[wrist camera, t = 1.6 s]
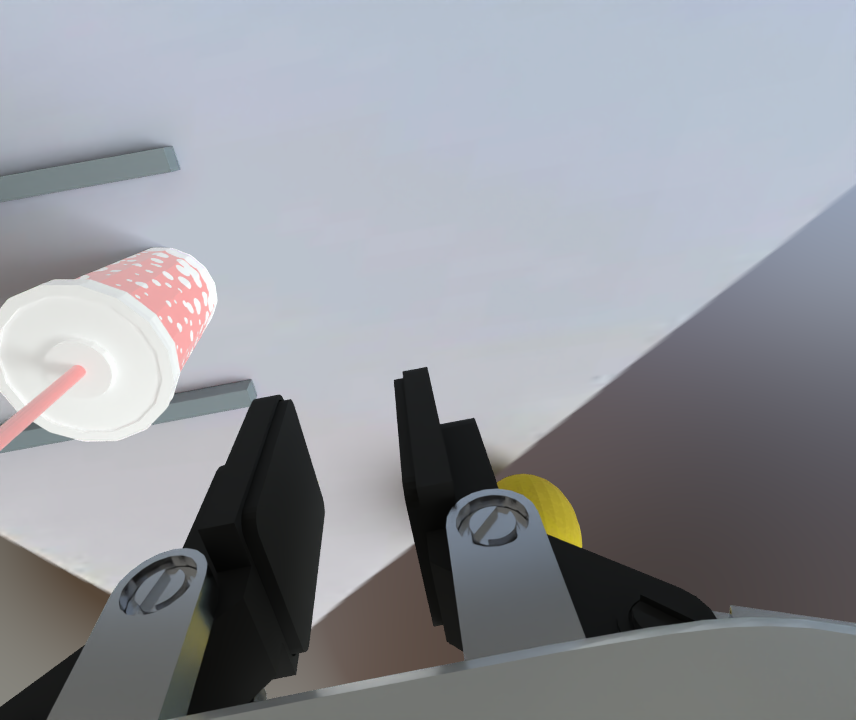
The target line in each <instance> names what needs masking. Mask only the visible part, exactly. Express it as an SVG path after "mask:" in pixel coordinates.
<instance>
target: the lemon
mask: <svg viewBox="0 0 856 720" xmlns="http://www.w3.org/2000/svg"><path fill="white" fill-rule="evenodd" d="M497 485H498V488H499V489H504V490H511V491H514V492H516V493H519V494H521V495H523V496H525V497H526V498H527V499H529V500H530V501H531V502H532V503H533V504H534V506H535V507H536V509H537V510H538V512H539V515H540V518H541V520H542V523H543V526H544V528H545V531H546V534H548V535H551V536H553V537H556V538H558V539H561V540H563V541H565V542H568V543H570V544H573V545H575V546H578V547H580V548H582V538H581V531H580V527H579V524H578V521H577V518H576V515H575V512H574V510H573V508H572V506H571V504H570V503H569V502H568V500H567V499H566V498H565V496H564V495H563V494H562V492H561V491H560V490H559V489H558V488H557V487H556V486H554V485H553V484H551V483H550V482H549V481H547V480H545V479H543V478H540V477H538V476H535V475H530V474H529V475H528V474H516V475H512V476H508V477H505V478H504V479H502V480H500V481H498V482H497Z"/></svg>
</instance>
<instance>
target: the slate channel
mask: <svg viewBox="0 0 856 720" xmlns="http://www.w3.org/2000/svg"><path fill="white" fill-rule="evenodd" d="M176 170H180V167H179V164H178V161H177V158H176V155H175V152H174V149H173V146H171V147H164V148H158V149H153V150H147V151H141V152H136V153H130V154H124V155H119V156H113V157H108V158H102V159H96V160H91V161H85V162H79V163H74V164H68V165H62V166H57V167H51V168H46V169H40V170H34V171H29V172H23V173H17V174H12V175H6V176H0V202H5V201H11V200H16V199H22V198H27V197H33V196H39V195H44V194H50V193H55V192H61V191H67V190H72V189H78V188H84V187H89V186H95V185H100V184H106V183H112V182H117V181H123V180H128V179H134V178H140V177H145V176H151V175H156V174H162V173H168V172H173V171H176ZM256 397H257V394H256V391H255V388H254V385H253V382H252V380H247V381H241V382H236V383H231V384H225V385H220V386H214V387H209V388H204V389H198V390H193V391H188V392H182V393H177V394H174V396H173V399H172V400H171V401H170V403H169V406H168V407H167V409H166V410H165V411H164V412H163V413H162V414H161V415H160V416H159V417H158V418H157V419H156V420H155V421H154V422H153V423H152V424H151V425H154V424H159V423H165V422H170V421H175V420H181V419H186V418H191V417H197V416H202V415H207V414H213V413H218V412H223V411H229V410H234V409H239V408H245V407H250V405H251V402H252V401H253V399H256ZM69 440H74V439H73V438H69V437H65V436H62V435H58V434H55V433H51V432H49V431H47V430H45V429H44V428H42V427H40V426H39V425H37V424H36V423H34V422H32V423H31V424H30V425H29V426H28V427H26V428H25V429H24V430H23V431H22V432H21V433H20V434H19V435H18V436H16V437H15V438H14V439H13V440H12V441H11V442H10V443H9V444H7V445H6V446H5V447H4V448H3V449H2V450H1V451H0V453H5V452H10V451H15V450H21V449H26V448H31V447H37V446H42V445H47V444H53V443H58V442H63V441H69Z"/></svg>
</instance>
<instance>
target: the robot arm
mask: <svg viewBox="0 0 856 720" xmlns="http://www.w3.org/2000/svg"><path fill="white" fill-rule="evenodd" d="M394 387H395V399H396V411H397V423H398V436H399V448H400V460H401V472H402V482H403V490H404V496H405V501H406V506H407V511H408V515H409V520H410V524H411V529H412V533H413V538H414V542H415V546H416V550H417V555H418V559H419V564H420V569H421V573H422V577H423V582H424V586H425V591H426V595H427V600H428V603H429V608H430V613H431V617H432V621H433V626H439V625H443V626H444V631H445V635H446V640H447V642H449V643H450V644H452V645H454V646H455V647H457V648H458V649H460V650H461V651H463V652H464V659H465V661H462V662H457V663H452V664H447V665H442V666H436V667H431V668H426V669H421V670H416V671H410V672H406V673H400V674H395V675H390V676H385V677H380V678H374V679H369V680H365V681H359V682H354V683H349V684H344V685H339V686H334V687H329V688H323V689H318V690H313V691H308V692H303V693H298V694H293V695H288V696H283V697H278V698H273V699H268V700H267V697H266V696H267V695H266V691H265V688H264V687H265V686H266V685H267V684H268V683H269V682H270V681H271V680H272V679H277V678H282V677H287V676H292V675H296V671H297V664H298V657H299V653H302V652H306V651H307V650H308V647H309V641H310V632H311V624H312V616H313V608H314V599H315V591H316V583H317V574H318V566H319V558H320V549H321V541H322V533H323V524H324V516H325V509H324V502H323V497H322V494H321V491H320V488H319V484H318V481H317V478H316V475H315V471H314V468H313V465H312V462H311V458H310V455H309V452H308V449H307V445H306V442H305V439H304V436H303V432H302V429H301V426H300V423H299V419H298V416H297V413H296V410H295V407H294V404H293V402H292V400H291V399H290V400H284V399H283V398H282V396H281V395H275V396H270V397H264V398H259V399H253V401H252V402H251V405H250V407H249V410H248V412H247V414H246V417H245V419H244V421H243V424H242V426H241V428H240V431H239V433H238V435H237V438H236V440H235V443H234V445H233V447H232V450H231V452H230V454H229V457H228V459H227V461H226V464H225V465H223V466H221V467H219V468H218V470H217V471H216V474H215V476H214V478H213V480H212V483H211V485H210V487H209V490H208V492H207V494H206V496H205V499H204V501H203V503H202V505H201V508H200V510H199V512H198V514H197V517H196V519H195V521H194V524H193V526H192V528H191V530H190V533H189V535H188V537H187V539H186V542H185V544H184V546H183V548H182V549H173V550H170V551H167V552H164V553H160V554H158V555H156V556H154V557H152V558H150V559H148V560H146V561H144V562H143V563H141V564H140V565H138V566H137V567H136V568H134V569H133V570H131V571H130V572H129V573H128V574H127V575H126V576H125V577H124V578H123V579H122V580H121V581H120V582H119V584H118V585H117V586H116V588H115V589H114V591H113V592H112V594H111V596H110V598H109V599H108V601H107V603H106V605H105V607H104V609H103V611H102V613H101V615H100V617H99V619H98V621H97V623H96V625H95V627H94V629H93V630H92V632H91V634H90V637H89V638H88V640H87V642H86V644H85V645H84V646H83V647H81V648H80V649H79V650H77V651H76V652H74V653H73V654H72V655H70V656H69V657H68V658H66V659H65V660H64V661H62V662H61V663H60V664H58V665H57V666H55V667H54V668H53V669H51V670H50V671H49V672H47V673H46V674H45V675H43V676H42V677H40V678H39V679H38V680H36V681H35V682H34V683H32V684H31V685H30V686H28V687H27V688H25V689H24V690H23V691H21V692H20V693H19V694H18V695H16V696H15V697H13V698H12V699H10V700H9V701H8V702H6V703H5V704H4V705H2V706H1V707H0V720H856V623H851V622H844V621H837V620H829V619H823V618H816V617H809V616H802V615H794V614H788V613H781V612H774V611H767V610H760V609H753V608H746V607H739V606H732V605H731V606H730V614H728V613H720V612H715V611H712V610H711V609H710V608H709V607H707V606H706V605H705V604H704V603H703V602H702V601H701V600H700V599H698V598H697V597H696V596H694V595H692V594H690V593H689V592H687V591H685V590H683V589H681V588H679V587H676V586H674V585H672V584H669V583H667V582H664V581H662V580H659V579H657V578H654V577H652V576H649V575H647V574H644V573H642V572H640V571H637V570H635V569H632V568H630V567H627V566H625V565H622V564H620V563H617V562H615V561H612V560H610V559H607V558H605V557H602V556H600V555H597V554H595V553H593V552H590V551H588V550H585V549H583V548H580V547H578V546H575V545H573V544H570V543H568V542H565V541H563V540H561V539H558V538H556V537H553V536H551V535H548V534H546V531H545V528H544V526H543V523H542V520H541V518H540V515H539V512H538V510H537V509H536V507H535V506H534V504H533V503H532V502H531V501H530V500H529V499H527V498H526V497H525V496H523V495H521V494H519V493H516V492H514V491H511V490H504V489H499V488H498V485H497V482H496V479H495V476H494V473H493V470H492V467H491V465H490V462H489V459H488V456H487V453H486V450H485V447H484V444H483V441H482V438H481V435H480V432H479V429H478V427H477V424H476V421H475V419H474V418H471V419H465V420H460V421H455V422H450V423H444V424H440V423H439V418H438V414H437V409H436V405H435V400H434V395H433V391H432V386H431V382H430V377H429V373H428V368H427V367H424V368H419V369H414V370H408V371H403V378H402V379H396V380H394Z"/></svg>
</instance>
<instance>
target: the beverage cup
mask: <svg viewBox="0 0 856 720" xmlns="http://www.w3.org/2000/svg"><path fill="white" fill-rule="evenodd" d="M216 304H217V294H216V287H215V283H214V281H213V279H212V278H211V276H210V274H209V272H208V271H207V269H206V267H204V266H203V265H202V264H201V263H200V262H198V261H197V260H196V259H195V258H194V257H192V256H191V255H190V254H187V253H184V252H182V251H179V250H176V249H174V248H150V249H147V250H145V251H143V252H140V253H138V254H135V255H133V256H130V257H128V258H125V259H123V260H120V261H118V262H115V263H113V264H110V265H108V266H106V267H103V268H101V269H98V270H96V271H93V272H91V273H88V274H86V275H83V276H81V277H78V278H76V279H53V280H51V281H49V282H46V283H43V284H41V285H38V286H36V287H34V288H31V289H29V290H27V291H24V292H22V293H20V294H17V295H15V296H13V297H11V298H9V299H7V301H6V302H5V303H4V304H3V306H2V307H1V308H0V392H1V393H2V394H3V396H4V397H5V398H6V399H7V400H8V401H9V403H10V404H11V405H12V406H13V407H14V408H15V410H16V411H17V413H16V414H15V415H13V416H12V417H11V418H10V419H9V420H7V421H6V422H5V423H4V424H3V425H1V426H0V451H1V450H2V449H3V448H4V447H5V446H6V445H7V444H9V443H10V442H11V441H12V440H13V439H14V438H15V437H16V436H18V435H19V434H20V433H21V432H22V431H23V430H24V429H25V428H26V427H28V426H29V425H30V424H31V423H32V422H34V423H36V424H37V425H39V426H40V427H42V428H44V429H45V430H47V431H49V432H51V433H55V434H58V435H62V436H65V437H69V438H73V439H76V440H80V441H83V442H92V441H119V440H121V439H124V438H126V437H129V436H131V435H134V434H136V433H139V432H141V431H144V430H146V429H147V428H148V427H149V426H150V425H151V424H152V423H153V422H154V421H155V420H156V419H157V418H158V417H159V416H160V415H161V414H162V413H163V412H164V411H165V410H166V409H167V407H168V406H169V403H170V401H171V400H172V399H173V396H174V392H175V389H176V386H177V382H178V379H179V375H180V372H181V370H182V368H183V366H184V365H185V363H186V361H187V360H188V358H189V356H190V354H191V353H192V351H193V349H194V348H195V346H196V344H197V342H198V341H199V339H200V337H201V336H202V334H203V332H204V330H205V329H206V327H207V325H208V324H209V322H210V320H211V318H212V317H213V314H214V311H215V307H216Z"/></svg>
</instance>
